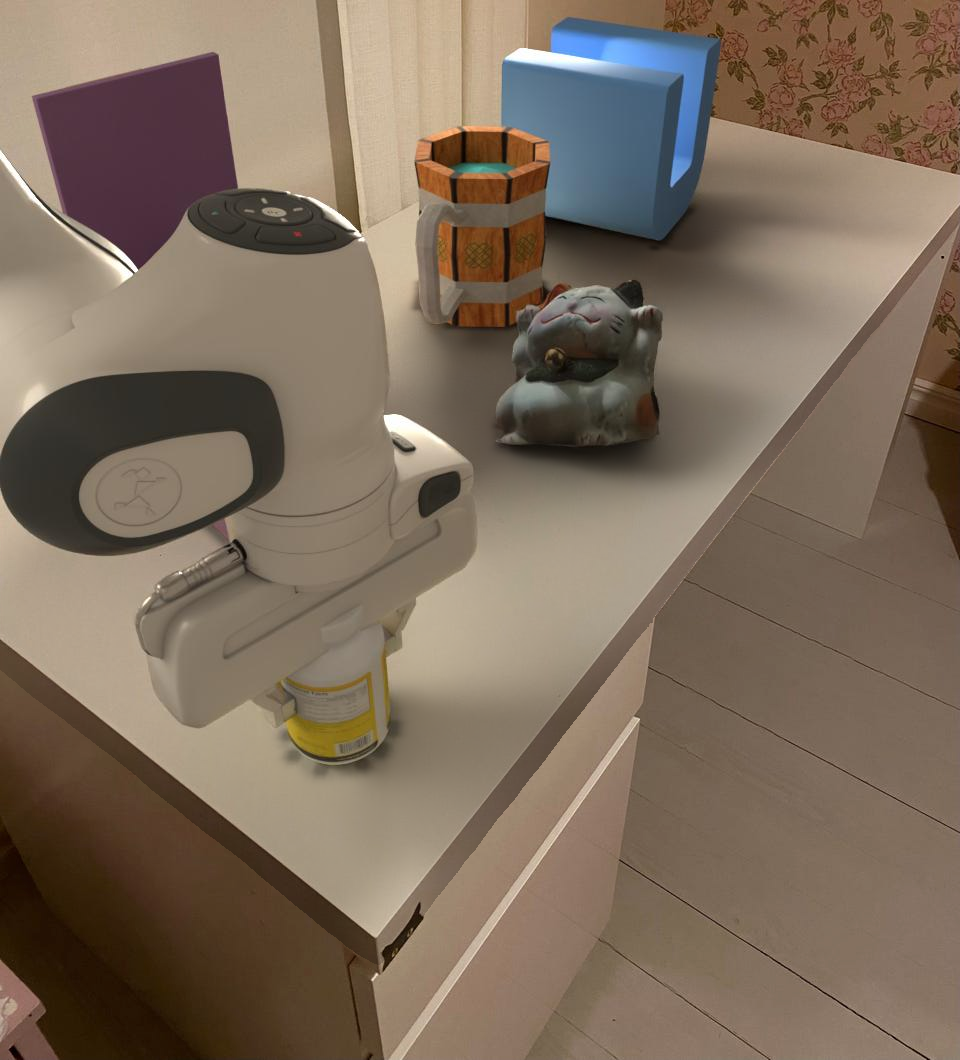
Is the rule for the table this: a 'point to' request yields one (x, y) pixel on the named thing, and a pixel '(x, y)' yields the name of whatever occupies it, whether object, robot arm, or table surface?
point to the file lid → (139, 149)
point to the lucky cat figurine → (584, 369)
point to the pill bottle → (342, 694)
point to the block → (616, 120)
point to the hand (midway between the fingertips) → (334, 680)
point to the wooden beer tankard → (480, 224)
